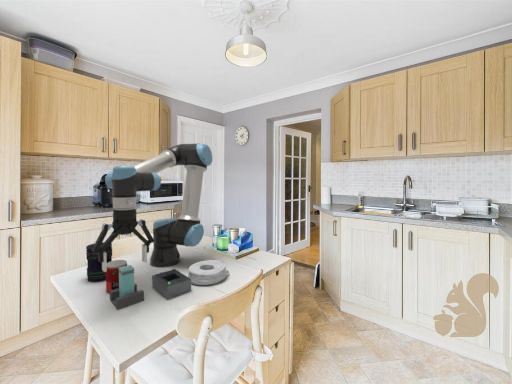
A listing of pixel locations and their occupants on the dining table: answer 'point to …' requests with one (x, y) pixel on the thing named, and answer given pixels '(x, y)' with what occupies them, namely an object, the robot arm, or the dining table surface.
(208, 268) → the cable
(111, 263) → the canned food
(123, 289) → the plug
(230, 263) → the dining table surface
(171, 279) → the grey socket block
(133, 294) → the grey slotted cradle
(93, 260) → the storage jar
